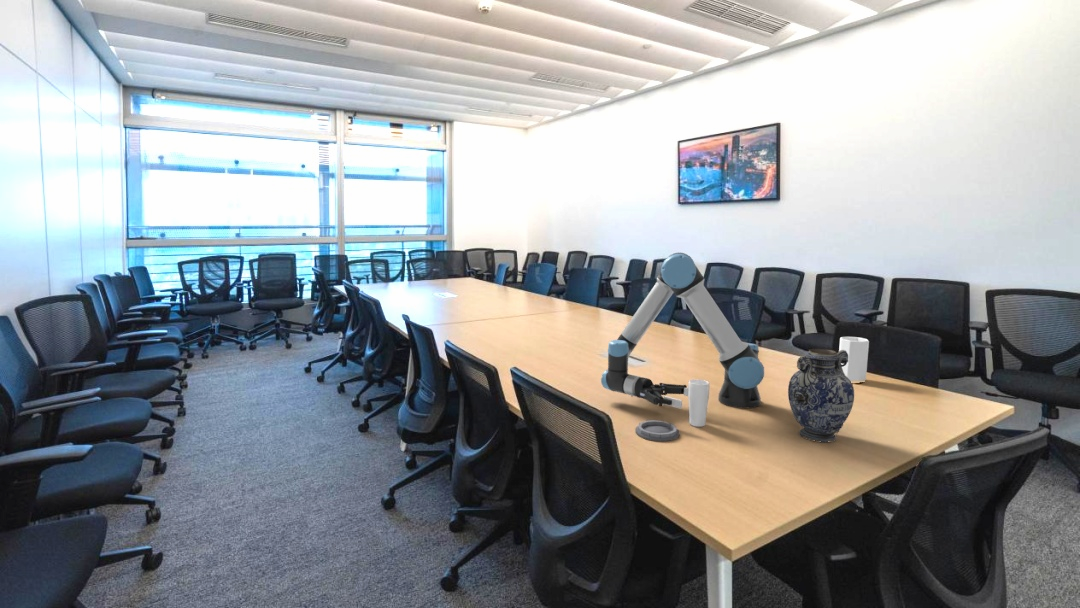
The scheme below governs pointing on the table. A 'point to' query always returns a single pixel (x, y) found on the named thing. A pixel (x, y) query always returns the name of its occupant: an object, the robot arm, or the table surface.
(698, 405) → the drinking glass
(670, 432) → the coaster
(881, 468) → the table surface
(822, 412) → the decorative vase
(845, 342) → the cup
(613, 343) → the robot arm
